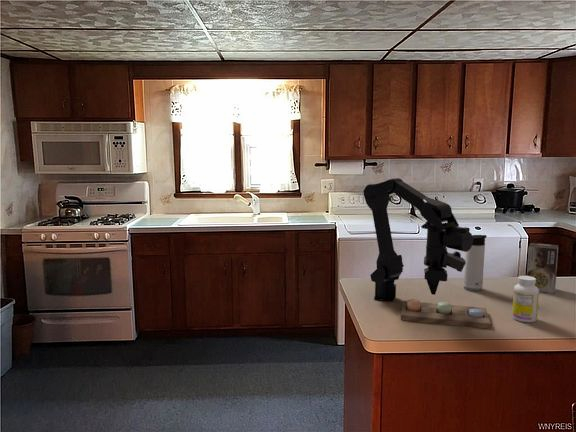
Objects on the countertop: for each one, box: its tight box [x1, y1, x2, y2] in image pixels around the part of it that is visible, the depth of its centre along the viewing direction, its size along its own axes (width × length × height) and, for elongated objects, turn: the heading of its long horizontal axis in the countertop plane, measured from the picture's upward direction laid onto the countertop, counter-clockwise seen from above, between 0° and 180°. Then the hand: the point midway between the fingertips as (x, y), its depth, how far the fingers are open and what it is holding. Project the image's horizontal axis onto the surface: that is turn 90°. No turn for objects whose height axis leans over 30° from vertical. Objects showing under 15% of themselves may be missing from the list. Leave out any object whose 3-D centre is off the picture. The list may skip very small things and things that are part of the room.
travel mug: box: [463, 234, 487, 292], centre depth 165 cm, size 6×7×20 cm
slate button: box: [468, 309, 483, 318], centre depth 139 cm, size 4×4×2 cm
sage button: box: [437, 301, 452, 315], centre depth 141 cm, size 4×4×2 cm
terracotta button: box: [406, 298, 421, 312], centre depth 143 cm, size 4×4×2 cm
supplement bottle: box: [511, 275, 540, 323], centre depth 137 cm, size 7×7×13 cm
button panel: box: [400, 300, 492, 330], centre depth 141 cm, size 25×13×2 cm, turn 73°
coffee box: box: [526, 242, 559, 294], centre depth 164 cm, size 9×6×16 cm
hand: (433, 294), depth 141 cm, fingers closed
